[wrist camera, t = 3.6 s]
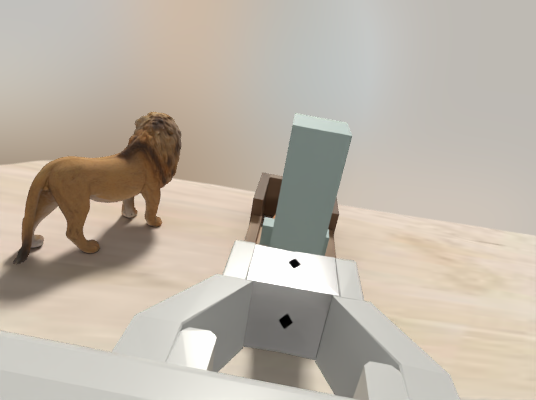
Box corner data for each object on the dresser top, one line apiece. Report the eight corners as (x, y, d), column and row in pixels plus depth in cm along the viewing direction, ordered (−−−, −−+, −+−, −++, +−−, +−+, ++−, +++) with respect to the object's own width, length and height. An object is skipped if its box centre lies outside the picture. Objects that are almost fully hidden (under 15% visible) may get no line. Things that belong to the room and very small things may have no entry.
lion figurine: (148, 193, 38) (151, 103, 34) (191, 211, 36) (199, 117, 32) (-9, 257, 26) (-31, 126, 22) (43, 289, 24) (29, 152, 20)
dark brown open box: (246, 239, 33) (253, 198, 31) (256, 209, 39) (262, 172, 37) (328, 255, 33) (339, 214, 31) (325, 222, 39) (334, 186, 37)
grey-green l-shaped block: (248, 296, 24) (278, 122, 19) (257, 259, 28) (284, 106, 23) (318, 310, 24) (366, 138, 19) (317, 271, 27) (356, 120, 23)
